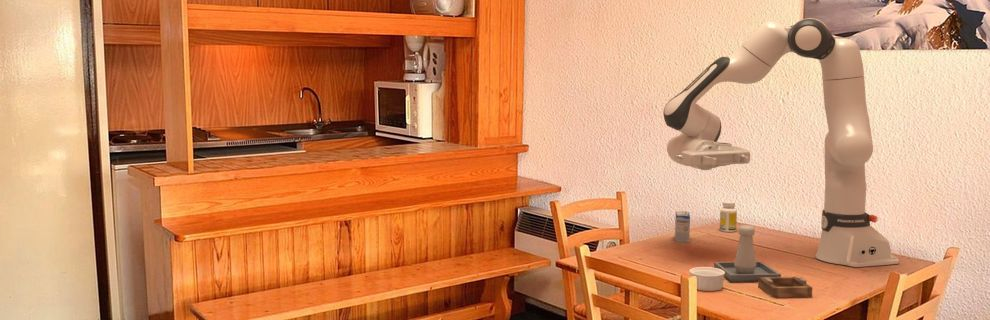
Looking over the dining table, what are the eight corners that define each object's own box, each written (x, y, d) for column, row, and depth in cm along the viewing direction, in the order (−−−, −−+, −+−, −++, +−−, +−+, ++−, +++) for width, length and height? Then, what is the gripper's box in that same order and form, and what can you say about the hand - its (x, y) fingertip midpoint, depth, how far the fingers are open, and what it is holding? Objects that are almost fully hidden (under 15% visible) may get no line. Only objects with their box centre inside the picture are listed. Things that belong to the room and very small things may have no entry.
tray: (761, 268, 242) (761, 261, 242) (780, 281, 229) (781, 274, 229) (713, 269, 241) (714, 262, 241) (730, 282, 228) (730, 275, 228)
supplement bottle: (737, 229, 292) (738, 201, 291) (734, 233, 287) (735, 204, 286) (721, 228, 294) (722, 200, 293) (718, 231, 289) (719, 202, 288)
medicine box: (674, 236, 282) (675, 210, 281) (688, 237, 281) (689, 211, 280) (675, 242, 274) (675, 215, 273) (689, 242, 273) (690, 215, 272)
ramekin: (703, 293, 218) (703, 277, 218) (682, 284, 226) (682, 268, 226) (731, 289, 222) (732, 273, 221) (709, 281, 230) (710, 265, 229)
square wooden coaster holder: (795, 286, 225) (795, 273, 225) (811, 297, 215) (812, 284, 215) (758, 286, 224) (758, 274, 224) (773, 298, 214) (773, 285, 214)
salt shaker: (755, 276, 232) (757, 229, 230) (733, 274, 234) (735, 227, 232) (756, 271, 237) (758, 224, 235) (734, 269, 239) (736, 223, 237)
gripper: (673, 145, 250) (699, 151, 237) (733, 142, 257) (762, 148, 244) (672, 167, 251) (698, 174, 238) (732, 163, 258) (761, 170, 245)
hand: (731, 161), depth 241 cm, fingers open, 8 cm apart
